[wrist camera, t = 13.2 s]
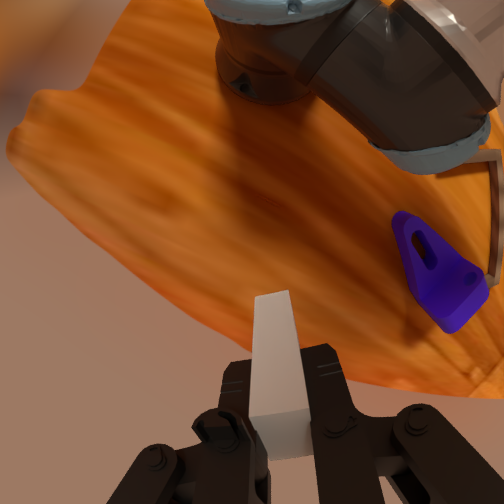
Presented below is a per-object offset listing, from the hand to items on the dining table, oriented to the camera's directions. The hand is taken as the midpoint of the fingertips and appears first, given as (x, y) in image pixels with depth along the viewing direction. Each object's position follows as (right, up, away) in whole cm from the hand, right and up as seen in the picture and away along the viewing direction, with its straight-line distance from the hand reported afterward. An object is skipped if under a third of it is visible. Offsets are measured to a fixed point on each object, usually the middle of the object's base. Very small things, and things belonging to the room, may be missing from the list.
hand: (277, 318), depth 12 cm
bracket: (+28, +3, +28) cm, 40 cm away
